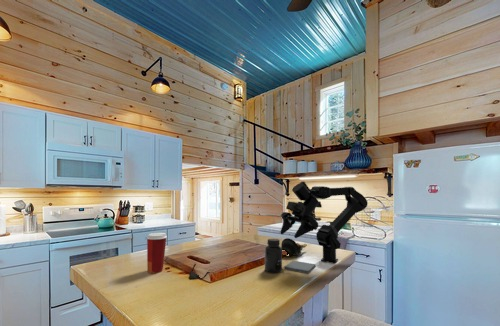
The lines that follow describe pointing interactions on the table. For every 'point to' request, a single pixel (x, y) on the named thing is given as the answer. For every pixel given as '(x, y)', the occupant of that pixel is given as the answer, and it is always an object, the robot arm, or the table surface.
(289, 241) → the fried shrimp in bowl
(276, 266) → the supplement bottle
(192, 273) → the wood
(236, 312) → the table surface
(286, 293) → the table surface
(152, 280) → the table surface
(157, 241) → the paper cup
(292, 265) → the mat
